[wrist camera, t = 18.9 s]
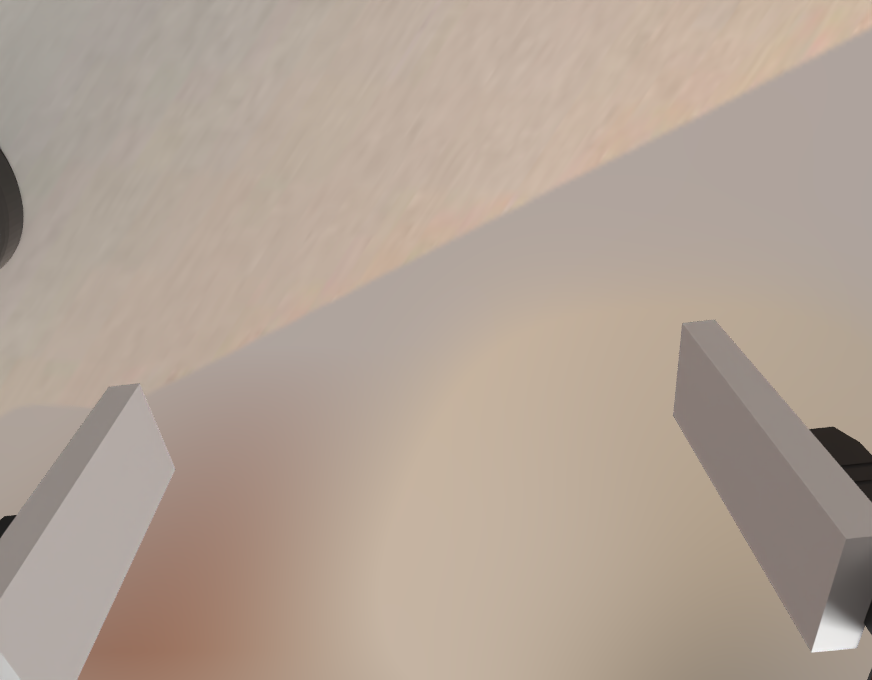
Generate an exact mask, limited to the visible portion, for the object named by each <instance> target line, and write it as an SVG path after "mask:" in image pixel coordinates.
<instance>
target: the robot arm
mask: <svg viewBox="0 0 872 680" xmlns="http://www.w3.org/2000/svg"><path fill="white" fill-rule="evenodd" d="M22 228H23V205H22V199H21V195H20V191H19V187H18V184H17V181H16V179H15V176H14V174H13V172H12V170H11V168H10V166H9V164H8V162H7V160H6V158H5V157H4V155H3V153H2V152H1V150H0V269H1V268H2V267H3V266H4V265H5V264H6V263H7V262H8V261H9V259H10V258H11V257H12V255H13V254H14V252H15V250H16V248H17V246H18V244H19V241H20V238H21V234H22ZM673 416H674V418H675V420H676V421H677V423H678V425H679V427H680V428H681V430H682V432H683V433H684V435H685V437H686V438H687V440H688V442H689V444H690V445H691V447H692V449H693V451H694V452H695V454H696V456H697V457H698V459H699V461H700V463H701V464H702V466H703V467H704V469H705V471H706V473H707V475H708V476H709V478H710V480H711V481H712V483H713V485H714V486H715V488H716V490H717V492H718V493H719V495H720V497H721V498H722V500H723V502H724V504H725V505H726V507H727V509H728V510H729V512H730V514H731V516H732V517H733V519H734V521H735V522H736V524H737V526H738V528H739V529H740V531H741V533H742V535H743V536H744V538H745V540H746V541H747V543H748V545H749V546H750V548H751V550H752V551H753V553H754V555H755V557H756V558H757V560H758V562H759V564H760V565H761V567H762V569H763V570H764V572H765V574H766V575H767V577H768V579H769V581H770V583H771V584H772V586H773V588H774V589H775V591H776V593H777V594H778V596H779V598H780V600H781V601H782V603H783V605H784V607H785V608H786V610H787V611H788V613H789V615H790V617H791V619H792V620H793V622H794V624H795V625H796V627H797V629H798V630H799V632H800V634H801V635H802V637H803V639H804V641H805V643H806V644H807V646H808V648H809V649H810V651H811V652H821V651H831V650H842V649H851V648H857V646H858V643H859V641H860V638H861V635H862V632H863V630H864V627H865V626H866V627H867V629H868V630H869V632H870V633H871V634H872V455H871V454H870V453H869V452H868V451H867V450H866V449H865V448H864V446H863V445H862V444H861V443H860V442H858V441H857V440H855V439H853V438H851V437H850V436H848V435H846V434H845V433H843V432H841V431H840V430H838V429H836V428H835V427H827V428H816V429H808V428H807V427H806V425H805V424H804V423H803V422H802V421H801V420H800V418H799V417H798V416H797V415H796V414H795V413H794V411H793V410H792V409H791V408H790V407H789V406H788V404H787V403H786V402H785V401H784V400H783V399H782V397H781V396H780V395H779V394H778V393H777V392H776V390H775V389H774V388H773V387H772V386H771V385H770V383H769V382H768V381H767V380H766V379H765V378H764V377H763V375H762V374H761V373H760V372H759V371H758V370H757V368H756V367H755V366H754V365H753V364H752V362H751V361H750V360H749V359H748V358H747V357H746V356H745V354H744V353H743V352H742V351H741V350H740V348H739V347H738V346H737V345H736V344H735V343H734V341H733V340H732V339H731V338H730V337H729V336H728V335H727V333H726V332H725V331H724V330H723V329H722V328H721V326H720V325H719V324H718V323H717V322H716V321H715V320H706V321H697V322H688V323H683V324H682V331H681V342H680V352H679V362H678V372H677V382H676V392H675V403H674V413H673ZM174 471H175V467H174V465H173V462H172V460H171V458H170V455H169V453H168V450H167V448H166V445H165V443H164V441H163V439H162V436H161V434H160V431H159V429H158V426H157V424H156V422H155V419H154V417H153V414H152V412H151V410H150V407H149V405H148V402H147V400H146V397H145V395H144V393H143V390H142V388H141V385H140V383H139V384H130V385H121V386H112V387H108V389H107V390H106V391H105V393H104V394H103V396H102V397H101V398H100V400H99V401H98V403H97V404H96V405H95V407H94V408H93V410H92V411H91V412H90V414H89V415H88V417H87V418H86V419H85V421H84V423H83V424H82V425H81V426H80V428H79V429H78V431H77V432H76V433H75V435H74V436H73V438H72V439H71V440H70V442H69V443H68V445H67V446H66V447H65V449H64V450H63V452H62V453H61V454H60V456H59V457H58V458H57V460H56V462H55V463H54V464H53V465H52V467H51V468H50V470H49V471H48V472H47V474H46V475H45V477H44V478H43V479H42V481H41V482H40V484H39V485H38V486H37V488H36V489H35V491H34V492H33V493H32V495H31V496H30V498H29V499H28V500H27V502H26V503H25V505H24V506H23V507H22V509H21V510H20V512H19V513H18V515H13V516H4V517H3V518H2V519H1V520H0V680H77V679H78V676H79V674H80V672H81V670H82V668H83V665H84V664H85V661H86V659H87V657H88V655H89V653H90V651H91V649H92V646H93V644H94V642H95V640H96V638H97V636H98V634H99V631H100V629H101V627H102V625H103V623H104V621H105V619H106V617H107V614H108V612H109V610H110V608H111V606H112V603H113V601H114V599H115V597H116V595H117V593H118V591H119V589H120V587H121V584H122V582H123V580H124V578H125V576H126V574H127V571H128V569H129V567H130V565H131V563H132V561H133V559H134V557H135V554H136V552H137V550H138V548H139V546H140V544H141V542H142V539H143V537H144V535H145V533H146V531H147V529H148V527H149V524H150V522H151V520H152V518H153V516H154V514H155V512H156V509H157V507H158V505H159V503H160V501H161V499H162V497H163V495H164V492H165V490H166V488H167V486H168V484H169V482H170V480H171V477H172V475H173V473H174ZM867 680H872V669H871V672H870V674H869V677H868V679H867Z"/></svg>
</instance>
